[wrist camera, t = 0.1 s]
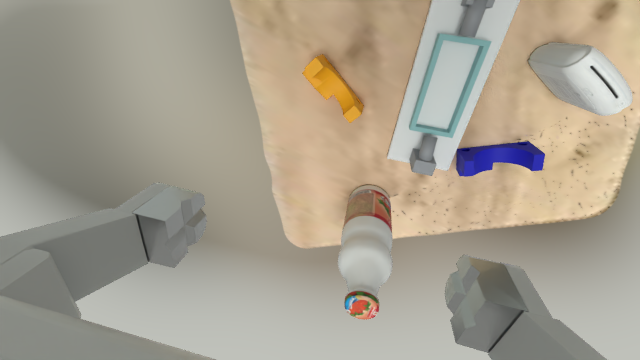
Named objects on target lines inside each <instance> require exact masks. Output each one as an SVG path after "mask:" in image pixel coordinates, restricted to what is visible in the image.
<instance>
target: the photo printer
mask: <svg viewBox="0 0 640 360" xmlns="http://www.w3.org/2000/svg"><path fill="white" fill-rule="evenodd" d="M528 62H529V64H530V66H531V68H532V69H533V70H534V72H535V73H536V74H537V75H538V77H539V78H540V79H541V80H542V81H543V83H544V84H545V85H546V86H547V87H548V88H549V89H550V90H551V92H552V93H553V94H554V95H555V96H556V97H558V98H559V99H561V100H562V101H565V102H567V103H570V104H573V105H575V106H578V107H580V108H583V109H585V110H588V111H590V112H593V113H595V114H598V115H602V116H605V115H612V114H616V113H618V112H620V111H621V110H622V109H624V108H626V107H628V106H629V105H630V104H631V103H632V92H631V90H630V87H629V86H628V84H627V82H626V80H625V79H624V77H623V76H622V75H621V73H620V72H619V71H618V69H617V68H616V67H615V66H614V65H613V64H612V62H611V61H610V60H609V59H608V58H607V57H606V56H605V55H604V54H603V53H601V52H600V51H599V50H597V49H596V48H594V47H592V46H589V45H579V44H568V43H555V42H551V43H549V44H547V45H542V46H540V47H538V48H537V49H536V50H535V51H534V52H533V53H532V54H531V56H530V59H529V60H528Z"/></svg>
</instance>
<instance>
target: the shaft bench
mask: <svg viewBox="0 0 640 360" xmlns="http://www.w3.org/2000/svg"><path fill="white" fill-rule="evenodd" d="M519 2H520V0H431V4H430V7H429V11H428V14H427V18H426V21H425V25H424V28H423V32H422V35H421V39H420V42H419V46H418V49H417V53H416V56H415V60H414V63H413V67H412V70H411V74H410V77H409V81H408V84H407V88H406V91H405V95H404V98H403V102H402V105H401V109H400V112H399V116H398V119H397V123H396V126H395V130H394V133H393V137H392V140H391V144H390V147H389V151H388V154H387V158H388V159H393V160H397V161H402V162H407V163H410V165H411V170H412V172H416V173H420V174H425V175H430V176H432V175H433V172H434V170H435V168H436V169H441V170H446V171H448V169H449V167H450V164H451V162H452V160H453V157H454V155H455V153H456V150H457V148H458V145H459V143H460V141H461V138H462V136H463V134H464V131H465V129H466V127H467V124H468V122H469V120H470V117H471V115H472V112H473V110H474V108H475V105H476V103H477V101H478V98H479V96H480V94H481V91H482V89H483V87H484V84H485V82H486V79H487V77H488V75H489V72H490V70H491V68H492V65H493V63H494V61H495V58H496V56H497V54H498V51H499V49H500V46H501V44H502V42H503V39H504V37H505V35H506V32H507V30H508V28H509V25H510V23H511V21H512V18H513V16H514V13H515V11H516V9H517V6H518V4H519Z"/></svg>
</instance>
